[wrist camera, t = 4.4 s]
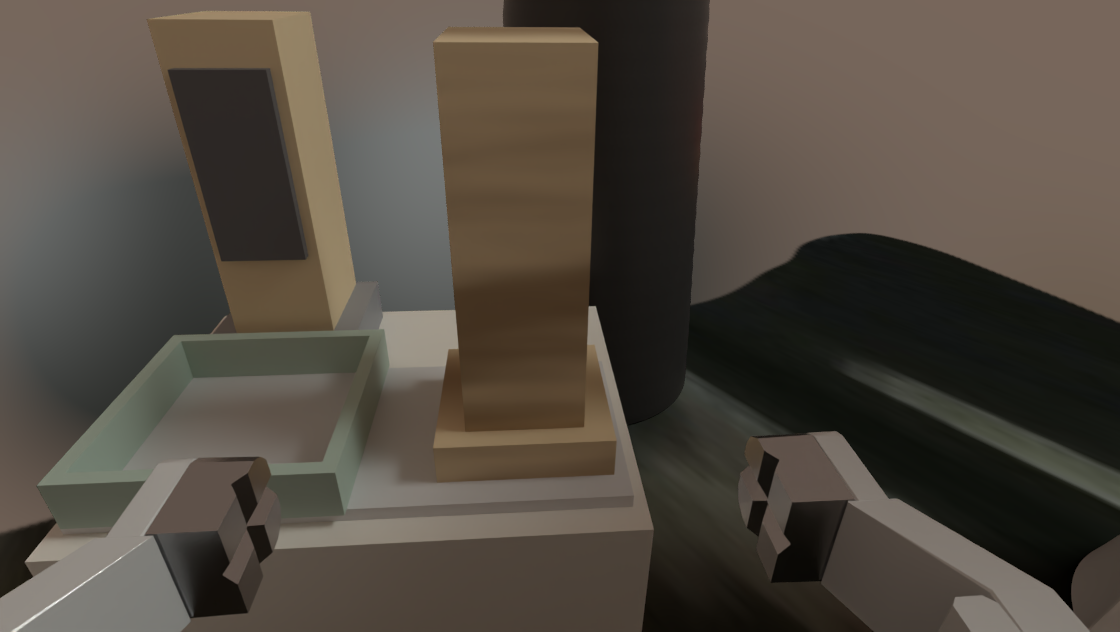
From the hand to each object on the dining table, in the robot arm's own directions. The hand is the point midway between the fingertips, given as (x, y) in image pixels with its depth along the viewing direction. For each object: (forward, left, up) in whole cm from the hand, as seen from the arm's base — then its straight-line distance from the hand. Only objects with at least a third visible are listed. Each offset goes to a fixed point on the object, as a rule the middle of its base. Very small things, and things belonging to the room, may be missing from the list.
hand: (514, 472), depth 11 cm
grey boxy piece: (+13, +5, -18) cm, 23 cm away
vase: (+30, -5, -18) cm, 35 cm away
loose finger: (+11, 0, -8) cm, 13 cm away
